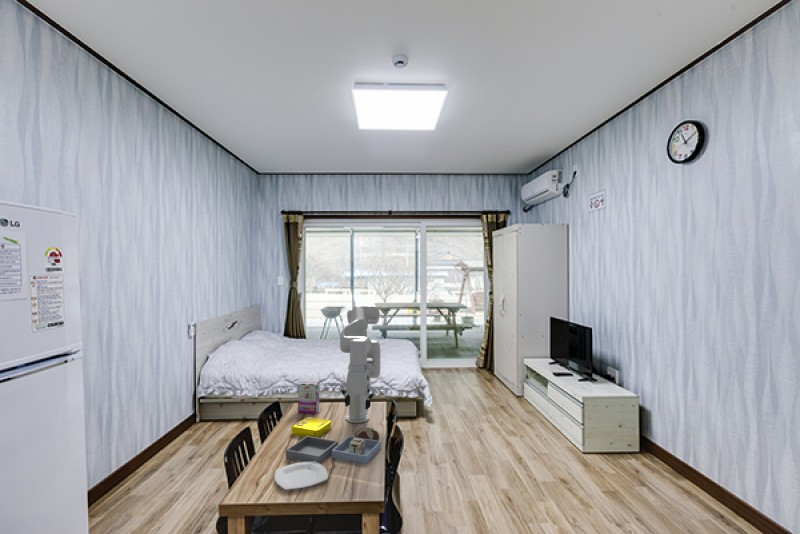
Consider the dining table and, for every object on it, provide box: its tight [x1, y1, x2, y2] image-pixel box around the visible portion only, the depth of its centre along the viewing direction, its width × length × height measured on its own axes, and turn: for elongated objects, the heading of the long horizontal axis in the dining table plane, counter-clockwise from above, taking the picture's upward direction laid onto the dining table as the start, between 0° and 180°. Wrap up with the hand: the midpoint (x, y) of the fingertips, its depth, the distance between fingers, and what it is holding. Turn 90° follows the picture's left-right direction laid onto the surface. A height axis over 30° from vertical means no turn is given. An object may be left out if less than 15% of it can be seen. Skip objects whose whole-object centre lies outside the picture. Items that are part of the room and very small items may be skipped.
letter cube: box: [349, 438, 365, 455], centre depth 168 cm, size 5×5×5 cm
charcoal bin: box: [285, 436, 339, 464], centre depth 168 cm, size 16×16×4 cm
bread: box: [354, 427, 380, 441], centre depth 184 cm, size 11×11×5 cm
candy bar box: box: [297, 381, 320, 415], centre depth 221 cm, size 11×5×16 cm, turn 80°
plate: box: [274, 461, 329, 491], centre depth 147 cm, size 19×19×2 cm
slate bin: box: [331, 435, 382, 465], centre depth 168 cm, size 16×16×4 cm
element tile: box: [291, 416, 332, 438], centre depth 193 cm, size 15×15×5 cm
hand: (357, 406), depth 169 cm, fingers open, 9 cm apart
